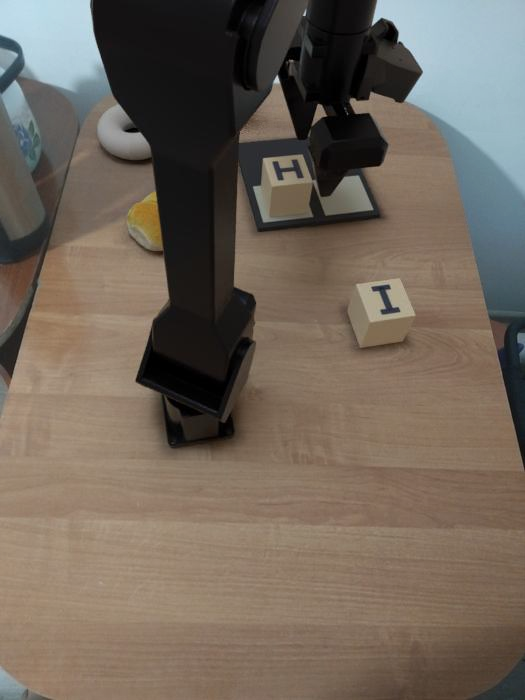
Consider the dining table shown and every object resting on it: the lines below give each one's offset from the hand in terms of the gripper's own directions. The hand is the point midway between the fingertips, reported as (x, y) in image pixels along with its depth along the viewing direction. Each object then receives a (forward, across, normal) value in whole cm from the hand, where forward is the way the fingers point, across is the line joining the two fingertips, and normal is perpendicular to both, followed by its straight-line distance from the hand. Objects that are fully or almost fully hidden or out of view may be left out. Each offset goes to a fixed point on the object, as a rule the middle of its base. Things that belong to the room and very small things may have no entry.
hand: (313, 166), depth 60 cm
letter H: (+10, +5, +1) cm, 11 cm away
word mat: (+10, +9, -3) cm, 14 cm away
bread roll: (+9, +4, +16) cm, 19 cm away
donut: (+10, +20, +18) cm, 29 cm away
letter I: (+10, -15, -5) cm, 19 cm away
